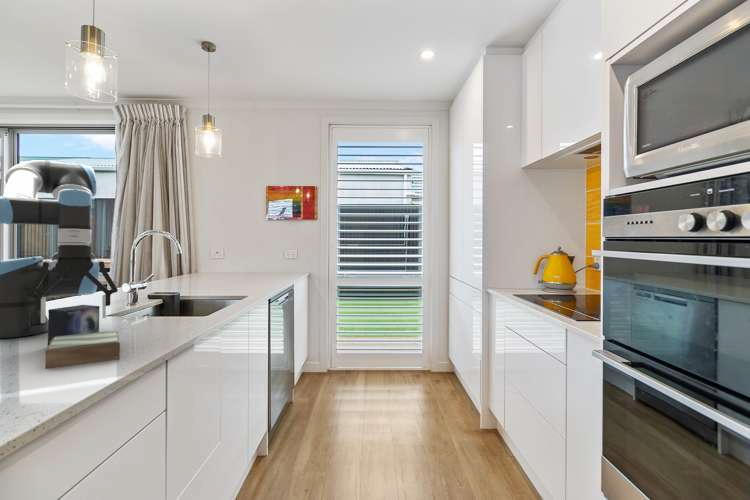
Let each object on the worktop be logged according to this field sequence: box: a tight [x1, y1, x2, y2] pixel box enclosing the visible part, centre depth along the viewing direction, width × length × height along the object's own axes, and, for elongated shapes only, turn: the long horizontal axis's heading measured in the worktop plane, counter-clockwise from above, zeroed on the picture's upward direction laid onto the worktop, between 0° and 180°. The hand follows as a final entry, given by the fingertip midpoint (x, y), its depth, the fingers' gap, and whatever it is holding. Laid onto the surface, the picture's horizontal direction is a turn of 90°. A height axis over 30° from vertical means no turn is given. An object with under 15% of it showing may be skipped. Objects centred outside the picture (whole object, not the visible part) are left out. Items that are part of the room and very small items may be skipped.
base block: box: [44, 330, 121, 369], centre depth 99 cm, size 16×14×4 cm
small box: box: [46, 304, 101, 348], centre depth 111 cm, size 11×6×10 cm, turn 168°
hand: (74, 320), depth 111 cm, fingers open, 13 cm apart
